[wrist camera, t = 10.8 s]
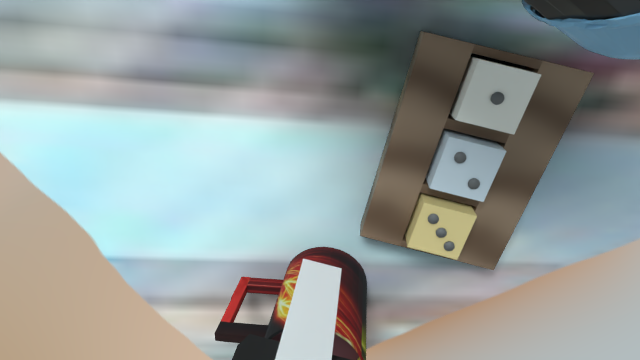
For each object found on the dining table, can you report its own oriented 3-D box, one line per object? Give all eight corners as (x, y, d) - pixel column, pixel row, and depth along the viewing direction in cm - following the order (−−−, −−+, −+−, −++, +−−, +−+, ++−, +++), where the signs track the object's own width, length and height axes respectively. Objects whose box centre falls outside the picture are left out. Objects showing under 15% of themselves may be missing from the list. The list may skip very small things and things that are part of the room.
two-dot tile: (441, 126, 35) (449, 137, 32) (494, 139, 35) (507, 151, 32) (424, 174, 37) (429, 189, 34) (473, 186, 37) (484, 203, 34)
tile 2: (467, 55, 33) (479, 59, 29) (524, 69, 32) (542, 74, 29) (447, 111, 35) (456, 120, 31) (500, 124, 34) (514, 135, 31)
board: (420, 31, 33) (424, 31, 30) (578, 69, 32) (594, 73, 30) (360, 223, 41) (360, 235, 38) (486, 256, 40) (493, 270, 38)
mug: (241, 271, 45) (201, 351, 34) (346, 235, 42) (338, 312, 31) (278, 329, 48) (251, 420, 37) (379, 301, 45) (382, 392, 34)
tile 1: (419, 187, 38) (424, 203, 34) (467, 199, 38) (477, 217, 34) (404, 228, 40) (407, 248, 36) (450, 240, 40) (457, 261, 36)
